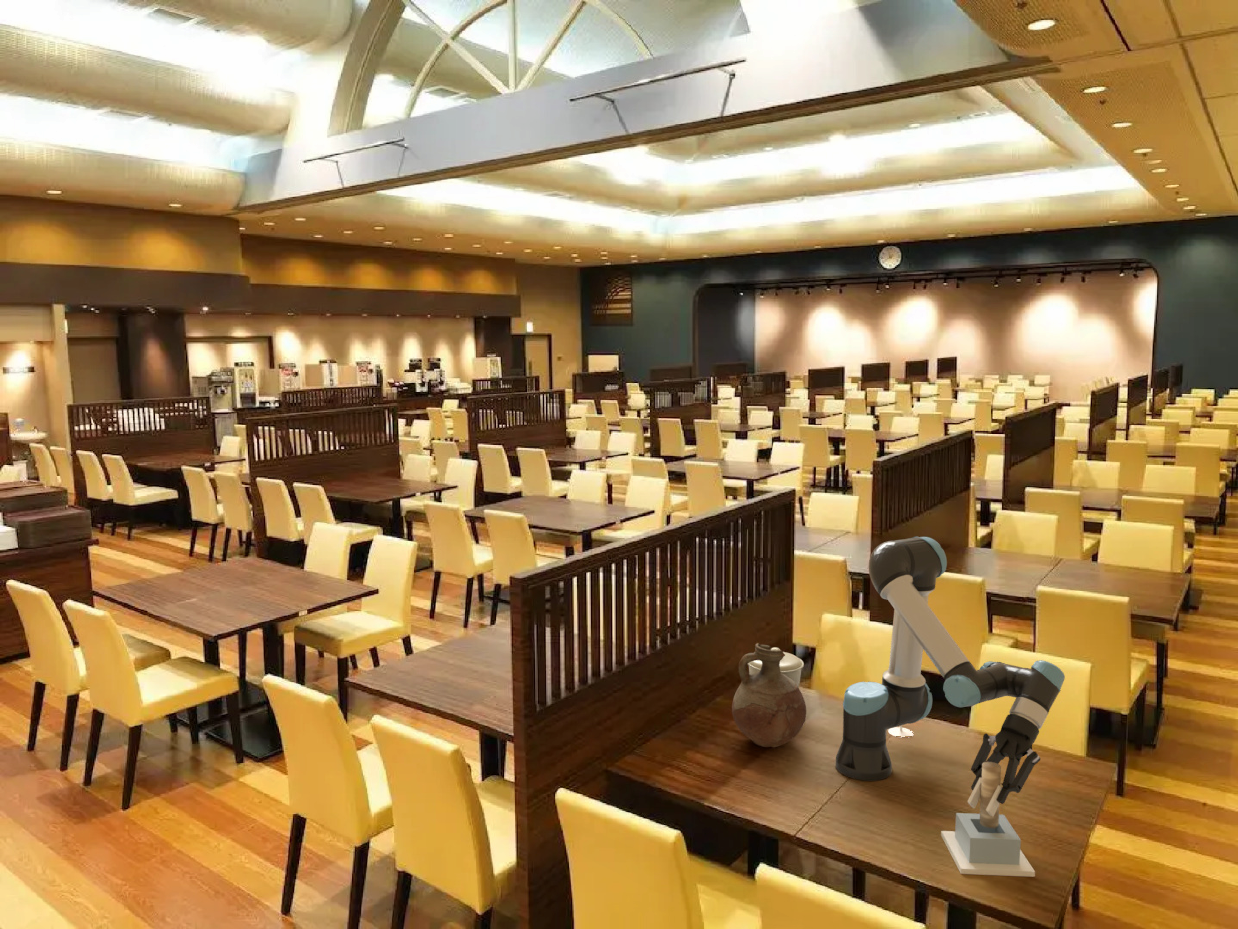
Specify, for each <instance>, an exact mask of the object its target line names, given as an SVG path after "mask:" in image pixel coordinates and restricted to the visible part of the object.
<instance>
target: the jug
mask: <svg viewBox="0 0 1238 929" xmlns="http://www.w3.org/2000/svg"><path fill="white" fill-rule="evenodd" d="M754 646H755V648H754V649H755V650H754V652H749V653H745V654H743V656H742V657H741V658H740V660H739V662H738V674H739V677H740V681H741V683H740V684H739V686H738V688H737V689H736V691H735V694H734V696H733V700H732V704H731V714H732V717H733V720H734V722H735V725H736V726H737V729H739V731H740V732H741V733H742V734H743V735H744V736H746V737H747V738H748V739H750V740H751V741H752V743H754V744H755V745H757V746H760V747H762V748H769V747H772V748H778V747H780V746H783V745H784V744H786V743H788V742H790V741H791V740H793V739H794V738H796V736H798V734H799V733H800V732H801V730H802V728H803V726H804V724H805V722H806V718H807V707H806V701H805V698H804V695H803V693H802V691H801V690H800V688H798V685H797V684H796V683H795V682H794V681H793V680H792V679H790V678H789V677H787V676H786V675H784V674H782V673H781V671H780V661H781V660H782V659H783V657H784V656H785V654H784V653H783V652H784V651H783V650H781V649H780V650H779V651H774V650H771V648H772V647H771V646H770V645H767V644H760V642H756V643H755V645H754ZM755 660H760V661H762V667H761V670H760V671H759V672H756V673H753V674H751V675H750V674H749V672H748V671H747V666H748V663H749V662H751V661H755Z"/></svg>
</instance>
